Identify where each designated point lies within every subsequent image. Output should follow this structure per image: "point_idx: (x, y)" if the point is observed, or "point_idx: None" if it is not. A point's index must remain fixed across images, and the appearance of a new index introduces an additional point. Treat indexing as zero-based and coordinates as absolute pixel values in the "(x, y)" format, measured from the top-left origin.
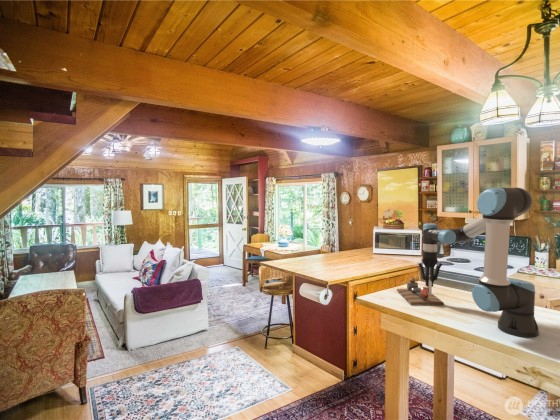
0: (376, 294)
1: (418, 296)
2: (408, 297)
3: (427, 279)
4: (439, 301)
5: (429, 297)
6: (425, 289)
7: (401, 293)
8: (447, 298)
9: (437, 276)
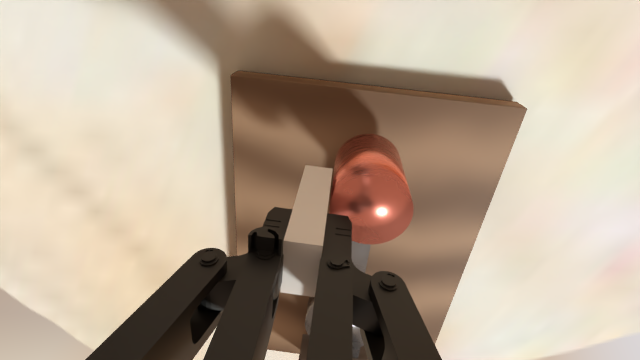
0: (596, 331)
1: None
2: (457, 223)
3: (342, 272)
4: (255, 109)
5: (292, 205)
6: (383, 172)
7: (450, 301)
8: (155, 214)
9: (164, 287)
